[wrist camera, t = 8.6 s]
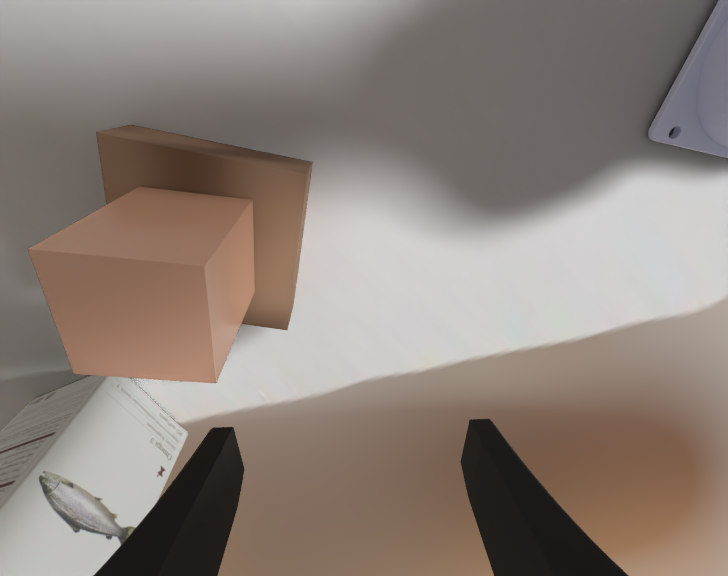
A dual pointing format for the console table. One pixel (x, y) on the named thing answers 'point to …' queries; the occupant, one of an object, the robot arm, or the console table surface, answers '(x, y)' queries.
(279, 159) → the walnut block
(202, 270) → the cube
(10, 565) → the supplement box
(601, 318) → the console table surface
